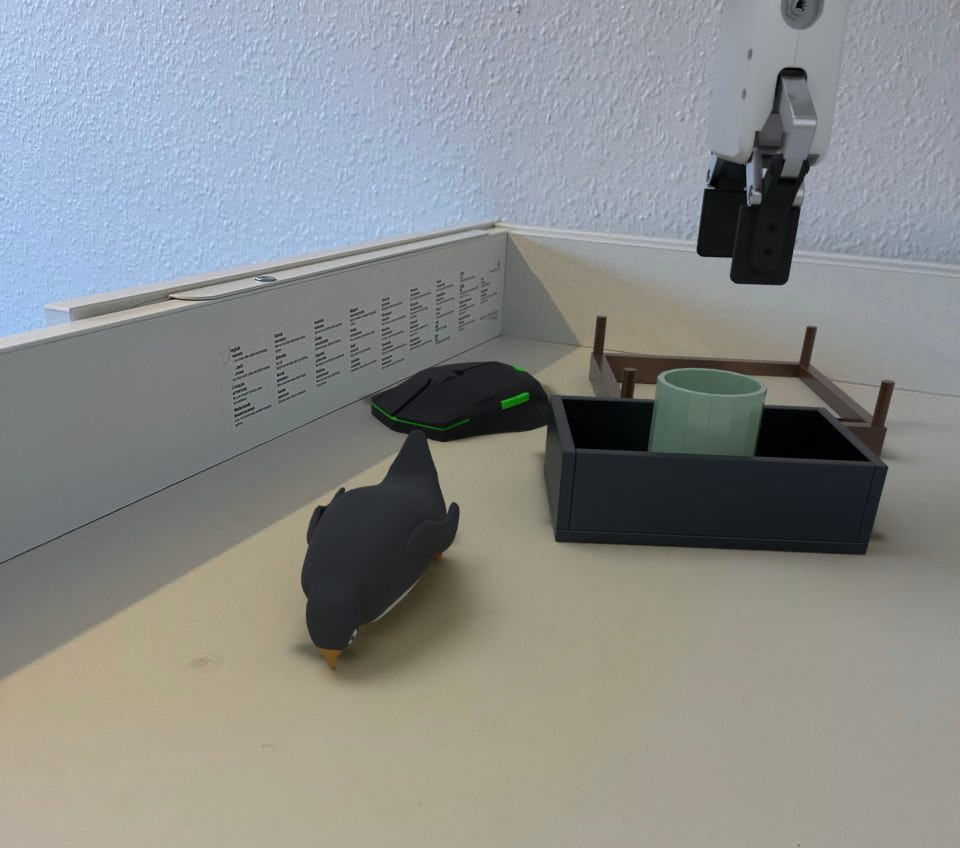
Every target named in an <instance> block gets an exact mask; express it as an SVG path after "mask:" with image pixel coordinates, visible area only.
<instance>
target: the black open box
mask: <svg viewBox="0 0 960 848" xmlns="http://www.w3.org/2000/svg"><path fill="white" fill-rule="evenodd" d="M654 400H655V398H634V397H633V398H612V397H596V396H589V395H588V396H587V395H565V394H564V395H563V394H550V395H549V412H548V424H546V440H545V449H544V450H545V451H544V463H543V478H544V482H545V490H546V495H547V501H548V506H549V512H550V513H549V514H550V518H551V525H552V531H553V537H554V541H555V542H569V543H593V544H611V545H612V544H614V545H638V546H660V547H661V546H662V547H682V548H685V547H686V548H706V549H707V548H708V549H709V548H710V549H730V550H751V551H752V550H753V551H756V550H757V551H777V552H779V551H780V552H801V553H822V554H823V553H826V554H848V555H866V554H867V551H868V548H869V543H870V541H871V537H872V533H873V529H874V525H875V521H876V517H877V513H878V510H879V506H880V502H881V498H882V494H883V490H884V487H885V483H886V478H887V476H888V471H889V466H888V465H887V464H886V463H885V462H884V460H882V459H881V457H880V458H879V457H878V456H877V455H875V454H874V453H873V452H872V451H871V450H870V449H869V448H868V447H867V446H866V445H865V444H864V443H863V442H861V441H860V440H859V439H858V438H857V437H856V436H855V435H854V434H853V433H852V432H851V431H850V430H848V429H847V428H846V427H845V426H844V425H843V424H842V423H841V422H840V421H839V420H838V419H837V418H838V417H836V416H834V415H833V414H832V413H831V412H830V411H829V410H828V409H827V408H826V407H824V406H804V405H802V406H801V405H785V404H784V405H781V404H780V405H779V404H764V410H763V415H762V420H761V425H760V431H759V436H758V441H757V446H756V452H755V457H753V456H731V455H709V454H687V453H665V452H648V445H649V437H650V430H651V422H652V415H653V407H654Z"/></svg>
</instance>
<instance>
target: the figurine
mask: <svg viewBox="0 0 960 848" xmlns="http://www.w3.org/2000/svg"><path fill="white" fill-rule="evenodd" d="M460 515H461V511H460V506H459V503H457V502H456V501H452V502H451V503H450V504H449V506H448V509H447V506H446V502H445V498H444V495H443V491H442V488H441V484H440V480H439V473H438V470H437V467H436V465H435V462H434V459H433V456H432V453H431V449H430V446H429V442H428V438H426V436H425V434H424V432H423V431H421V430H413V431H412V432H411V433H410V434H408V435H407V437H406V439H405V441H404V442H403V444H402V445H401V448H400V450H399V451H398V453H397V455H396V457H395V458H394V460H393V461H392V463H391V464H390V466H389V468H388V470H387V473H386V474H385V476H384V478H383V479H382V481H380V482H379V483H377V484H374V485H373V484H372V485H364V486H360V487H354V488H351V489H349V490H347V491H346V488H345V487H344V486H342V487H340V488H339V489H338V490H337V491H336V493H335V494H334V495H333V497H332V498H331V500H330V502H329V503H328V504H327V505H317V506H316V507H315V508H314V510H313V512H312V514H311V517H310V520H309V522H308V527H307V531H306V544H307V550H306V552H305V556H304V560H303V564H302V567H301V573H300V585H301V589H302V592H303V594H304V596H305V597H306V599H307V601H306V606H305V624H306V628H307V631H308V634H309V638H310V640H311V641H312V643H313V645H314V646H315V647H316V649H317V650H318V651H319V652H320V653H321V654H322V656H323V657H324V659H325V661H326V663H327V665H328V667H329V668H330V669H331V670H335V669H336V668H337V659H338V656H340V654H341V653H342V652H343V651H344V650H345V649H347V648H348V647H349V646H350V645H351V644H353V642H354V641H355V639H356V637H357V635H358V632H359V629H360V627H361V626H364V625H368V624H372V623H374V622H376V621H378V620H380V619H381V618H383V617H384V616H385V615H387V614H388V613H389V612H390V611H391V610H392V609H393V608H394V607H395V606H396V605H398V604H399V603H400V602H401V601H402V600H403V599H404V598H405V597H406V596H407V595H408V594H409V592H411V590H412V589H413V588H414V587H415V586H416V584H417V583H418V582H419V581H420V579H421V578H423V577H422V576H423V575H424V574H425V572H426V571H427V569H428V568H429V566H430V565H431V563H432V561H433V560H434V558H435V559H436V560H440V559H442V557H443V553H444V552H446V551H447V550H448V549H449V548H450V547H451V546H452V544H453V542H454V541H455V539H456V535H457V532H458V530H459V529H458V528H459V523H460Z"/></svg>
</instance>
